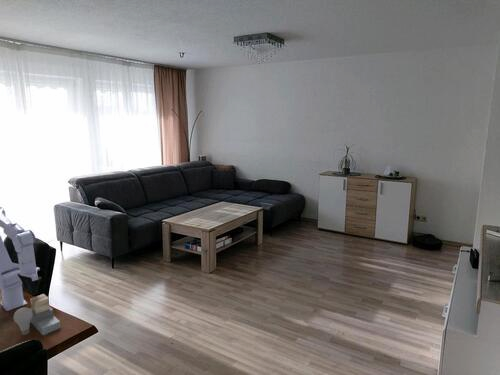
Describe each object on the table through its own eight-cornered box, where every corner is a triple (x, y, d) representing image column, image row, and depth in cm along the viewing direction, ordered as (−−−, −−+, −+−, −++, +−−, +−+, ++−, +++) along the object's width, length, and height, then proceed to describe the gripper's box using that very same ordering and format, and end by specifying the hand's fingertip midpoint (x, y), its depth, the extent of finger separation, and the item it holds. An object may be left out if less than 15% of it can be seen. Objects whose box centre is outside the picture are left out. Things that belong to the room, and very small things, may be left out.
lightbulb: (26, 340, 134) (22, 313, 132) (12, 338, 136) (8, 311, 133) (39, 330, 140) (35, 305, 138) (25, 328, 141) (21, 303, 139)
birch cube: (31, 310, 144) (30, 298, 143) (45, 305, 148) (43, 293, 147) (36, 314, 141) (34, 302, 140) (50, 309, 145) (48, 297, 144)
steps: (29, 321, 146) (27, 309, 145) (47, 314, 151) (45, 302, 150) (43, 335, 137) (41, 322, 136) (60, 327, 142) (59, 314, 141)
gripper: (44, 262, 145) (48, 293, 148) (31, 253, 154) (35, 282, 157) (24, 268, 140) (29, 300, 142) (12, 258, 149) (17, 288, 152)
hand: (31, 291), depth 149 cm, fingers open, 7 cm apart
